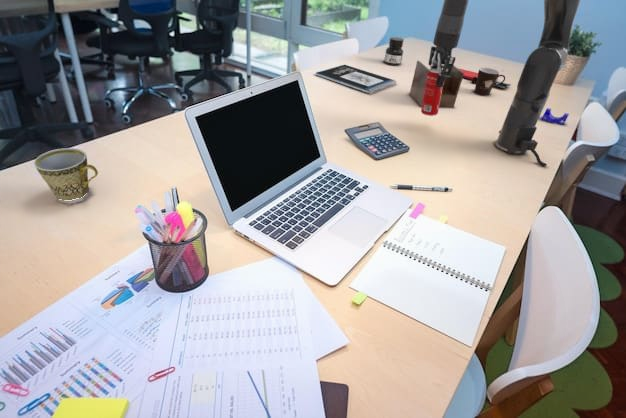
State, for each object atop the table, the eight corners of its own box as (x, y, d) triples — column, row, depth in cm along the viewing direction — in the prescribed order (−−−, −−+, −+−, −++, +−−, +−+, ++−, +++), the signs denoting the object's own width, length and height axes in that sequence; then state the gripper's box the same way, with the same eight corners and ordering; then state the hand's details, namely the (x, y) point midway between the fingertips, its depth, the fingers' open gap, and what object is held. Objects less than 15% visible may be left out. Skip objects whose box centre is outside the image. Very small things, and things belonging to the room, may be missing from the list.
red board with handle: (504, 91, 179) (512, 84, 190) (507, 85, 178) (514, 78, 188) (442, 75, 193) (453, 70, 203) (444, 69, 191) (454, 64, 201)
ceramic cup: (38, 204, 88) (22, 166, 82) (67, 181, 96) (55, 145, 90) (92, 213, 87) (80, 175, 81) (117, 189, 95) (107, 153, 89)
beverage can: (437, 117, 135) (449, 74, 126) (418, 115, 136) (429, 71, 127) (436, 111, 140) (448, 69, 131) (418, 109, 140) (428, 66, 131)
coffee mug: (470, 93, 174) (477, 70, 168) (473, 88, 180) (480, 66, 174) (497, 99, 170) (505, 76, 164) (499, 94, 177) (507, 72, 171)
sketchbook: (344, 67, 191) (344, 63, 190) (396, 84, 176) (397, 80, 175) (315, 75, 177) (315, 70, 176) (369, 94, 162) (370, 90, 161)
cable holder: (541, 119, 155) (545, 110, 153) (543, 117, 158) (547, 107, 155) (562, 126, 152) (567, 116, 149) (564, 123, 154) (569, 114, 152)
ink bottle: (381, 63, 200) (386, 39, 193) (384, 59, 207) (388, 35, 200) (400, 67, 198) (405, 42, 191) (402, 62, 205) (407, 38, 198)
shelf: (453, 107, 158) (464, 73, 150) (421, 106, 156) (430, 71, 148) (439, 94, 169) (449, 62, 161) (409, 94, 167) (417, 60, 159)
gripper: (428, 24, 127) (416, 76, 137) (447, 34, 115) (432, 90, 125) (450, 25, 128) (437, 77, 138) (470, 35, 116) (454, 91, 126)
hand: (435, 83), depth 131 cm, fingers closed on beverage can, 5 cm apart
